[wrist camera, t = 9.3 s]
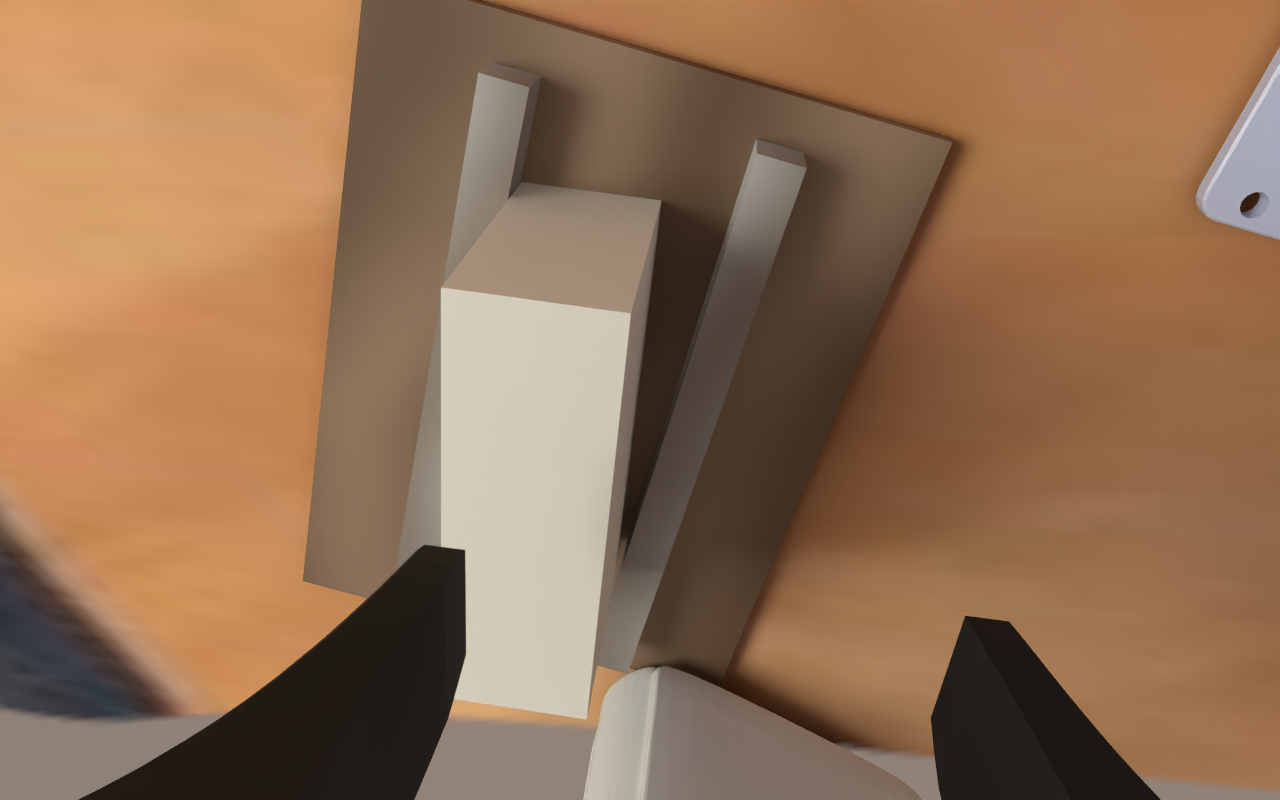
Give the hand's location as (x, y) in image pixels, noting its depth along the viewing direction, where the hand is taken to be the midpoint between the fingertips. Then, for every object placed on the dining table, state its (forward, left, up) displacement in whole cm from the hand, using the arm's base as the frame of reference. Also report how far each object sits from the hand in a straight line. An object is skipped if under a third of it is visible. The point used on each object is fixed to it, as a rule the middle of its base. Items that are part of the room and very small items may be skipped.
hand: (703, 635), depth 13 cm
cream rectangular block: (+3, +1, -9) cm, 10 cm away
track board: (+3, +2, -9) cm, 10 cm away
